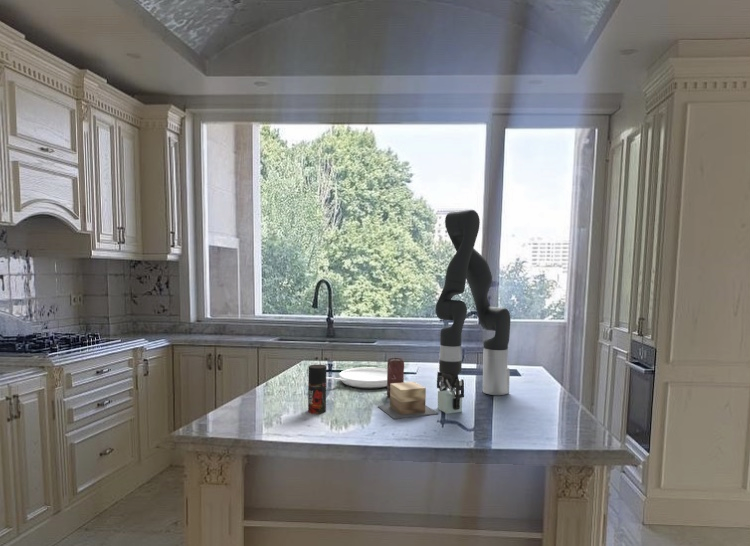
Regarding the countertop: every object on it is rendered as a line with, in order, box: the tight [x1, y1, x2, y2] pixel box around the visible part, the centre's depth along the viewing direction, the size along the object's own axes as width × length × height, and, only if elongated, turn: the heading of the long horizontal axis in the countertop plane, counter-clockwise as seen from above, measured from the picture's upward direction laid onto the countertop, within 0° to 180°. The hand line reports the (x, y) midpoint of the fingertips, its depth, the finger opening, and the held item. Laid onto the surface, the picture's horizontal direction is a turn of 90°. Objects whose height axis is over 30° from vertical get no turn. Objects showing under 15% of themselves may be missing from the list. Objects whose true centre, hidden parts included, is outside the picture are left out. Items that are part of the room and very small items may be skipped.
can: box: [386, 357, 405, 399], centre depth 178 cm, size 6×6×14 cm
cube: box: [437, 389, 463, 414], centre depth 162 cm, size 6×6×6 cm
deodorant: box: [307, 364, 327, 415], centre depth 159 cm, size 6×6×15 cm
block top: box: [390, 381, 427, 402], centre depth 161 cm, size 9×9×4 cm
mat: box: [377, 404, 439, 420], centre depth 161 cm, size 16×14×1 cm
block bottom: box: [389, 395, 427, 415], centre depth 161 cm, size 9×9×4 cm
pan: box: [326, 366, 387, 390], centre depth 195 cm, size 25×38×5 cm, turn 124°
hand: (449, 405), depth 162 cm, fingers open, 8 cm apart
